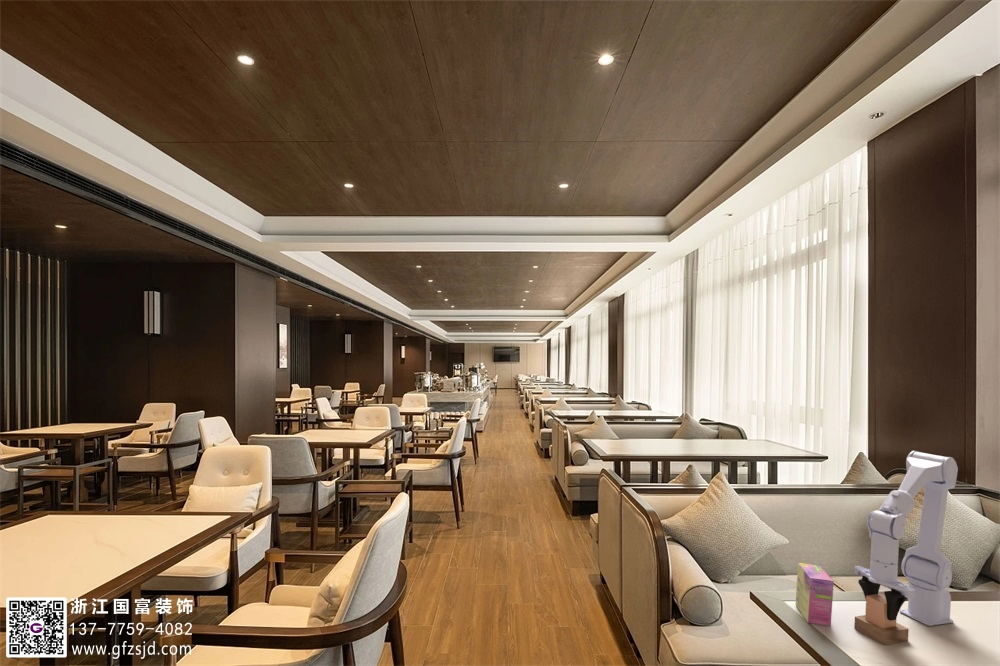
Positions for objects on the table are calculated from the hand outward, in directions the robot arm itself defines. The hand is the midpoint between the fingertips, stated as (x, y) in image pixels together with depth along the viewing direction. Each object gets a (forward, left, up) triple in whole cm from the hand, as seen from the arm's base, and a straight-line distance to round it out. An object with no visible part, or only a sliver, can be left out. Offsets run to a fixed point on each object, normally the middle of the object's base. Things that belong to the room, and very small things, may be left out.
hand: (881, 614), depth 143 cm
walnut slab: (0, 0, -5) cm, 5 cm away
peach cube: (0, 0, -2) cm, 2 cm away
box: (+9, -12, -5) cm, 16 cm away
